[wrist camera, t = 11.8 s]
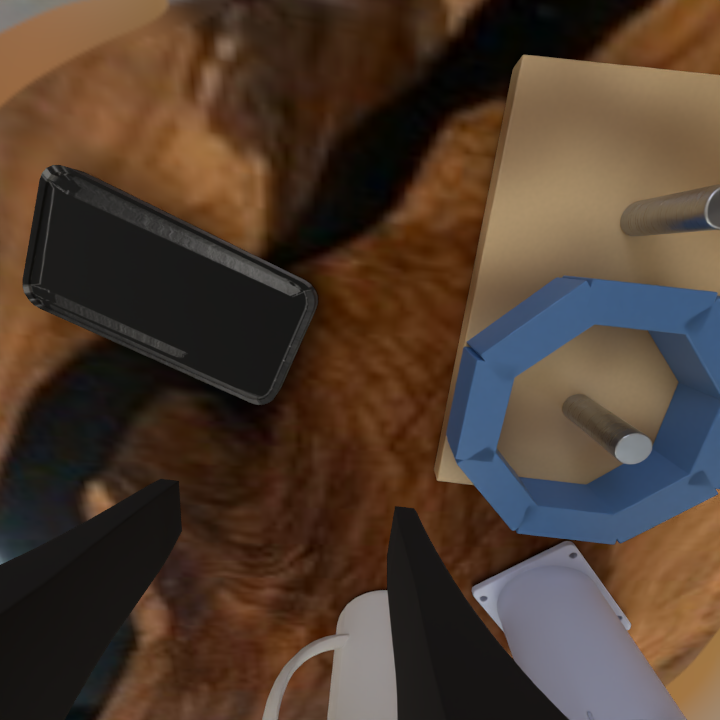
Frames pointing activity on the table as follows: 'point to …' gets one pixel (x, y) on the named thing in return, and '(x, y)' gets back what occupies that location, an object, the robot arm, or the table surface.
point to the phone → (163, 286)
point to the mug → (352, 664)
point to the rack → (593, 250)
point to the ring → (628, 481)
